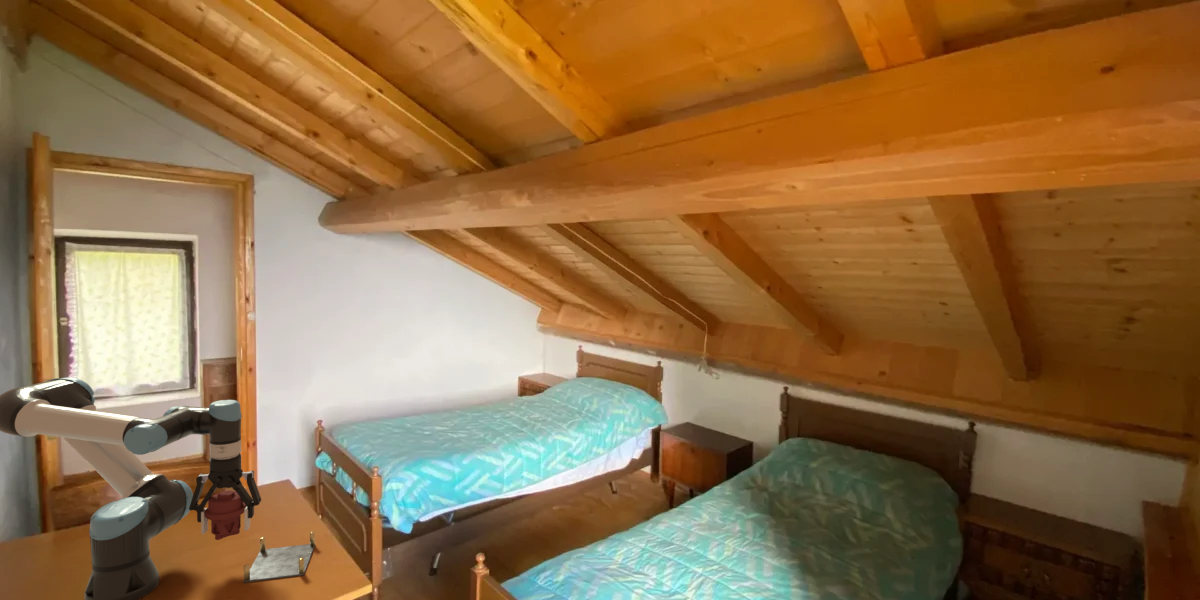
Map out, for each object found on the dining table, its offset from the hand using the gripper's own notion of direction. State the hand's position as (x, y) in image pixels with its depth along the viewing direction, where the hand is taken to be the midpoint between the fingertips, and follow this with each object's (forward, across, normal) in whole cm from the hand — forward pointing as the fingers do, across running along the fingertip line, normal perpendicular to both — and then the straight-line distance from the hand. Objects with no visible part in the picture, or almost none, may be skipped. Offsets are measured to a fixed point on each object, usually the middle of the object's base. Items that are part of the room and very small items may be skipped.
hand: (226, 530), depth 162 cm
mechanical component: (+2, 0, 0) cm, 2 cm away
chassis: (+10, +15, -2) cm, 18 cm away
